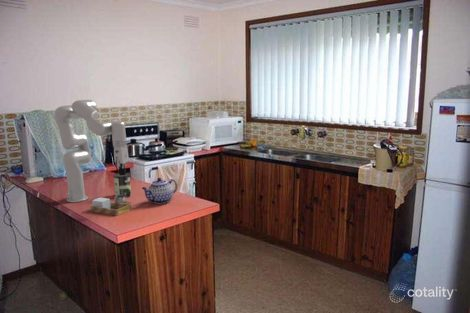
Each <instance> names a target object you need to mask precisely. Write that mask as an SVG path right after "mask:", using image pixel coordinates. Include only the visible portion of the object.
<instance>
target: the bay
mask: <svg viewBox="0 0 470 313" xmlns="http://www.w3.org/2000/svg"><path fill="white" fill-rule="evenodd" d="M110 204H111V209H109V208H102V207H96V206H93V205H91V206H89V207H90V212H91V213H98V214H104V215H111V216H117V217H118V216H120V215H123V214H124V213H125V214H126V213H127V212H129V211H132V203H129V204H123V203H116V202H115V201H110Z"/></svg>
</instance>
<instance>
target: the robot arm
mask: <svg viewBox="0 0 470 313" xmlns="http://www.w3.org/2000/svg"><path fill="white" fill-rule="evenodd" d="M97 109H98V108H97V104H96V102H95V101H93V100H92V99H79V100H76V101H74V102H73V103H72V104H71V105H61V106H59V107H57V108H56V109H55V110H54V113H53V114H54V120H55V124H56V125H57V128H58V130H59V131H58V132H59V137H60V140H61V141H60V142H61V144H62V148H64V149H65V150H69V151H67V152H66V153H64V154H63V156H62V162H63V165H64V169H65V174H66V182H67V192H66V193H65V196H66V197H67V198H66V201H67V203H79V202H84V201H86V200H88V198H89V196H88V195H86V192H85V184H84V174H83V173H84V172H83V170H82V168H81V167H80V166H81V165H84V164H88V163H90V161H92V152H91V149H90V144H89V140H88V139H89V138H88V137H87V136H86V134H85V133H83V132H76V131H75V128H74V126H73V124H72V122H70V121H69V120H77V119H82V120H84V121H85V122H86V126H87V128H88V130H89V131H91V132H92V133H93V134H96V135H97V136H99V137H101V136H110V135H111V138H112V139H111V140H112V148H113V158H114V163H115V165H116V167H117V168H118V172H119V173H118V174H119V175H126V173H127V172H126V163H128V162H129V161H130V159H129V158H130V157H129V151H128V144H127V134H126V124H125V122H123V121H115V120H111V121H109V120H108V121H101V122H100V121H98V120H99V119H98V118H99V113H100V112H98V110H97ZM73 149H75V150H73ZM70 150H71V151H70Z"/></svg>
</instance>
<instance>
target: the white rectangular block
mask: <svg viewBox="0 0 470 313" xmlns="http://www.w3.org/2000/svg"><path fill="white" fill-rule="evenodd" d="M91 202H92V203H91V204H92V206H96V207H102V208H109V209H112V207H111V204H110V202H111V199H110V198H108V197H107V198H106V197H98V198H94V199H93V200H91Z"/></svg>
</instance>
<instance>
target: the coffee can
mask: <svg viewBox="0 0 470 313" xmlns="http://www.w3.org/2000/svg"><path fill="white" fill-rule="evenodd" d="M112 177H113V184H114V195H115V196H117V195H118V194H122V195H126V189H128V188H129V189H130V195H131V196H132V188H131V174H130V173H128V172H126V175H119V173H116V174H114V175H113V176H112ZM115 196H114V197H115Z"/></svg>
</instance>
